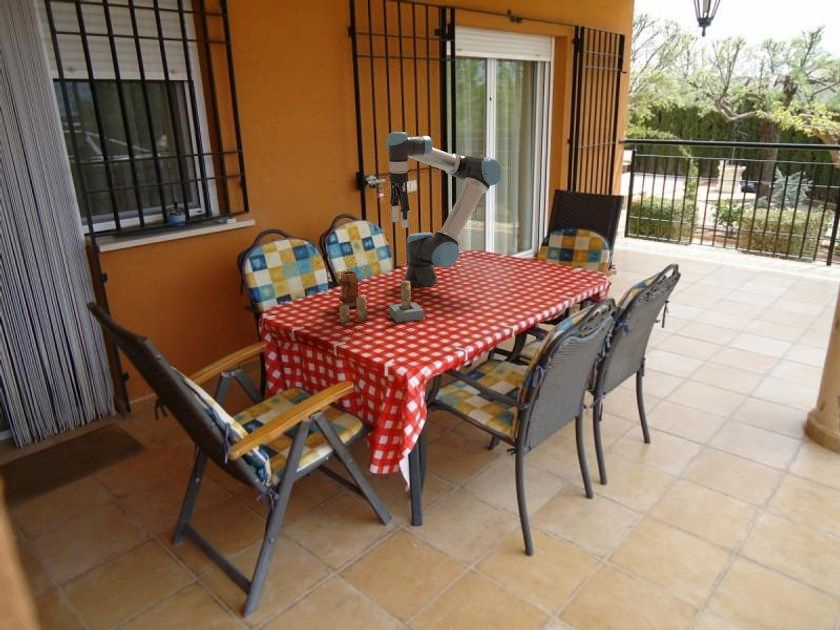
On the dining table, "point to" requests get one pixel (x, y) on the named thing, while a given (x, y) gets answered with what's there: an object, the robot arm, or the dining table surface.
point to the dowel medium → (361, 308)
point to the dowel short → (344, 314)
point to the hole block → (406, 312)
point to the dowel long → (405, 295)
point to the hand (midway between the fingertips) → (399, 224)
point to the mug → (349, 288)
